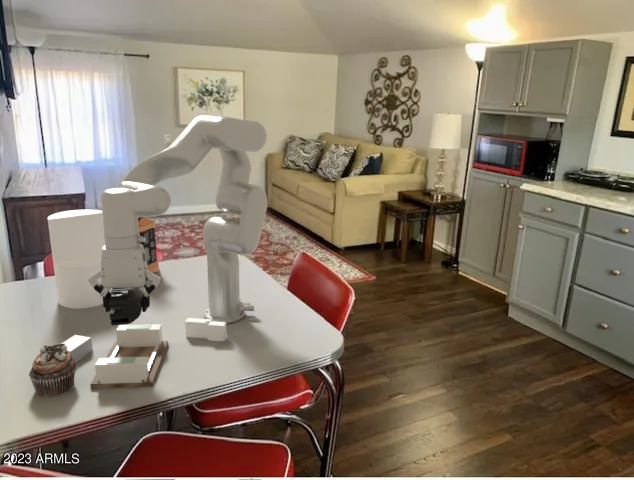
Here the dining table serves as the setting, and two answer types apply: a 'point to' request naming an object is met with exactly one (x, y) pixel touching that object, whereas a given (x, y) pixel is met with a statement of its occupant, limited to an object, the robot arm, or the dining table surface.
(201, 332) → the white stepped block
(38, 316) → the dining table surface
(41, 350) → the cupcake
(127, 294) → the end cap
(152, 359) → the rail
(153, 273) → the robot arm
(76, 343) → the block
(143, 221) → the whiskey bottle
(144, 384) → the rail board
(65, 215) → the cylinder
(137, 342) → the mounted modules
